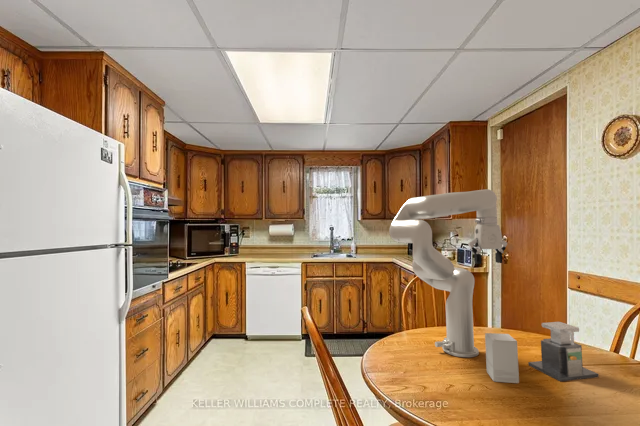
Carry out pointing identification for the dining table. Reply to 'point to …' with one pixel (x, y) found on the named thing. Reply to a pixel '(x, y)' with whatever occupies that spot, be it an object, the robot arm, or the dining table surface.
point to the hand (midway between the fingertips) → (488, 263)
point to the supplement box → (502, 357)
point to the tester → (562, 362)
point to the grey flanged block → (561, 332)
